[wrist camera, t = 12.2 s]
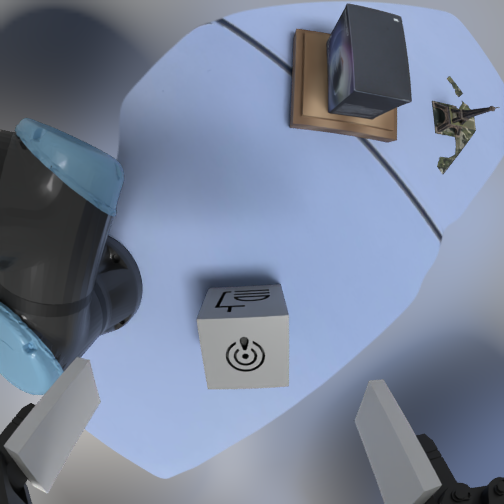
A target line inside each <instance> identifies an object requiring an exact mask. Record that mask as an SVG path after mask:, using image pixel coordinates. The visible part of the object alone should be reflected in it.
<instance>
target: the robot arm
mask: <svg viewBox="0 0 504 504" xmlns="http://www.w3.org/2000/svg"><path fill="white" fill-rule="evenodd" d="M123 181H124V172H123V169H122V166H121V164H120V163H119V162H118V161H117V160H116V159H115V158H113V157H112V156H110V155H108V154H107V153H105V152H103V151H101V150H99V149H97V148H96V147H93V146H92V145H90V144H88V143H85V142H83V141H81V140H79V139H77V138H75V137H73V136H71V135H69V134H66V133H64V132H62V131H60V130H58V129H55V128H53V127H51V126H48V125H46V124H43V123H40V122H37V121H35V120H33V119H29V118H24V119H22V120H21V121H20V123H19V124H18V125H17V126H16V128H15V132H9V131H5V130H0V374H1V375H2V376H3V377H4V378H6V379H7V380H8V381H9V382H10V383H11V384H13V385H14V386H15V387H17V388H19V389H20V390H22V391H24V392H26V393H29V394H33V395H44V394H45V395H44V396H43V397H42V398H41V399H40V401H39V402H38V403H37V404H36V405H34V404H32V403H30V404H29V405H27V406H25V407H23V408H22V409H21V410H20V411H19V413H18V414H17V415H16V417H14V419H13V420H12V422H11V423H9V425H8V426H7V427H6V428H5V429H4V431H3V432H2V434H1V435H0V504H32V502H31V498H30V494H29V491H28V487H27V485H26V481H27V479H28V480H29V481H30V482H31V484H32V485H33V486H34V487H36V488H38V489H40V490H41V491H43V492H45V493H48V492H49V490H50V489H51V487H52V485H53V483H54V481H55V479H56V478H57V476H58V474H59V472H60V470H61V469H62V467H63V465H64V463H65V462H66V460H67V458H68V456H69V454H70V453H71V451H72V449H73V447H74V446H75V444H76V442H77V441H78V439H79V437H80V435H81V434H82V432H83V430H84V429H85V427H86V425H87V424H88V422H89V420H90V419H91V417H92V415H93V414H94V412H95V410H96V409H97V407H98V406H99V404H100V402H101V401H100V397H99V394H98V390H97V387H96V383H95V380H94V376H93V372H92V368H91V364H90V360H87V359H83V358H81V357H82V355H83V354H84V353H85V352H86V351H87V350H88V348H89V347H90V346H91V345H92V344H93V343H94V341H95V340H96V339H97V338H98V337H99V336H100V335H103V334H106V333H109V332H112V331H115V330H117V329H119V328H121V327H123V326H124V325H125V324H127V323H128V322H129V320H130V319H131V318H132V317H133V316H134V314H135V313H136V312H137V310H138V308H139V306H140V303H141V298H142V281H141V276H140V272H139V270H138V267H137V265H136V263H135V261H134V259H133V258H132V256H131V255H130V253H129V252H128V251H127V250H126V249H125V248H124V247H123V246H122V245H121V244H120V243H119V242H117V241H116V240H114V239H113V238H111V237H109V236H108V233H109V229H110V226H111V223H112V220H113V217H114V216H116V212H117V210H116V205H117V201H118V198H119V194H120V191H121V188H122V184H123ZM355 424H356V426H357V429H358V431H359V434H360V437H361V440H362V442H363V445H364V448H365V450H366V453H367V456H368V458H369V461H370V464H371V466H372V469H373V472H374V475H375V478H376V480H377V483H378V486H379V489H380V492H381V495H382V497H383V500H384V503H385V504H504V478H502V477H498V478H495V479H493V480H492V481H491V482H490V483H489V484H488V485H487V486H482V487H475V488H470V487H469V486H468V485H466V484H464V483H457V481H456V480H455V478H454V477H453V475H452V473H451V471H450V469H449V468H448V466H447V464H446V462H445V461H444V459H443V457H441V454H440V452H439V451H438V450H437V447H436V445H435V443H434V442H433V440H431V439H430V438H429V437H428V436H427V435H425V434H421V435H417V436H416V435H415V434H414V432H413V430H412V428H411V426H410V425H409V423H408V421H407V419H406V418H405V416H404V414H403V412H402V411H401V409H400V407H399V405H398V404H397V402H396V400H395V399H394V397H393V395H392V394H391V392H390V390H389V388H388V387H387V385H386V383H385V382H384V380H372V381H369V382H368V385H367V388H366V391H365V394H364V397H363V400H362V402H361V405H360V408H359V411H358V414H357V416H356V419H355Z"/></svg>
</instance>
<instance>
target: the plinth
mask: <svg viewBox="0 0 504 504" xmlns="http://www.w3.org/2000/svg"><path fill="white" fill-rule="evenodd" d="M330 35H331V34H328V33H322V32H316V31H309V30H302V29H296V32H295V35H294V42H293V71H292V94H291V115H290V128H297V129H306V130H315V131H322V132H330V133H337V134H343V135H350V136H356V137H361V138H367V139H372V140H378V141H383V142H391V141H395V140H397V108H395V109H393V110H390V111H388V112H386V113H384V114H382V115H380V116H378V117H376V118H374V119H373V120H371V119H365V118H359V117H352V116H345V115H337V114H330V113H328V74H327V47H326V42H327V40H328V39H329V37H330Z"/></svg>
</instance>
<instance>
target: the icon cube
mask: <svg viewBox="0 0 504 504" xmlns="http://www.w3.org/2000/svg"><path fill="white" fill-rule="evenodd" d="M197 326H198V333H199V339H200V346H201V352H202V358H203V364H204V370H205V375H206V381H207V387H208V389H252V388H272V387H286V386H289V314H288V310H287V306H286V302H285V299H284V295H283V291H282V287H281V284H276V285H259V286H239V287H218V288H209V289H208V291H207V294H206V296H205V299H204V302H203V304H202V307H201V309H200V312H199V314H198V317H197Z"/></svg>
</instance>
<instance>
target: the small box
mask: <svg viewBox="0 0 504 504" xmlns="http://www.w3.org/2000/svg"><path fill="white" fill-rule="evenodd" d="M326 47H327V74H328V113H330V114H337V115H345V116H352V117H359V118H365V119H371V120H373V119H374V118H376V117H378V116H380V115H382V114H384V113H386V112H388V111H390V110H393V109H395V108H397V107H399V106H401V105H404V104H406V103H410V102H412V98H411V84H410V73H409V64H408V56H407V48H406V42H405V36H404V30H403V24H402V19H401V17H400V16H398V15H395V14H391V13H387V12H384V11H380V10H376V9H372V8H368V7H363V6H359V5H354V4H347V5H346V7H345V9H344V11H343V13H342V15H341V16H340V18H339V20H338V22H337V24H336V26H335V28H334V29H333V31H332V33H331V35H330V37H329V39H328V40H327V42H326Z"/></svg>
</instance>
